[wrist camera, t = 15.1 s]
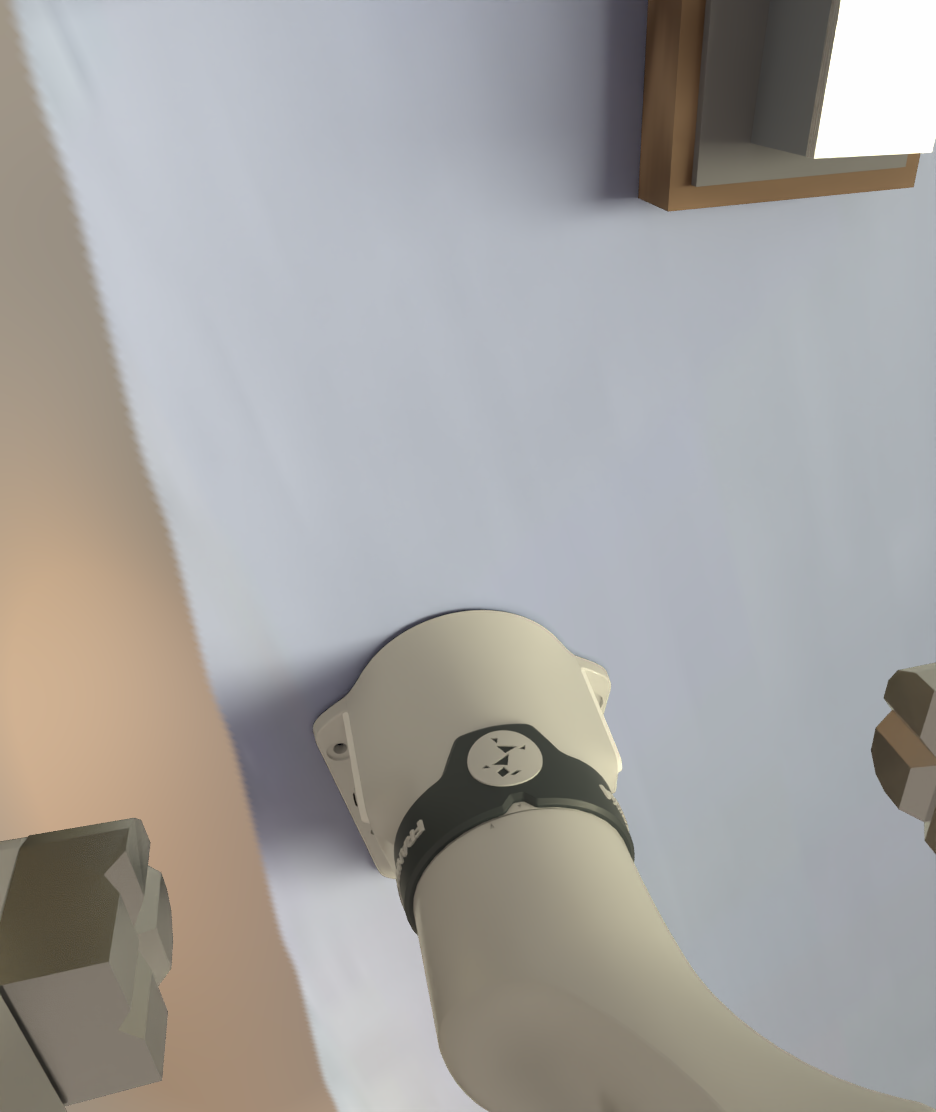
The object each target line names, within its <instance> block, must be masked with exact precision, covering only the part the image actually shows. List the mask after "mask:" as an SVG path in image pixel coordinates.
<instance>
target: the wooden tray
mask: <svg viewBox="0 0 936 1112" xmlns="http://www.w3.org/2000/svg"><path fill="white" fill-rule="evenodd" d="M769 5H770V0H648V14H647V34H646V54H645V74H644V95H643V115H642V135H641V155H640V175H639V195H638V198H640V199H642V200H644V201H646V202H648V203H651V204H653V205H655V206H657V207H659V208H662V209H664V210H666V211H677V210H688V209H698V208H708V207H718V206H728V205H738V204H748V203H758V202H768V201H778V200H789V199H799V198H809V197H819V196H829V195H839V194H849V193H859V192H869V191H880V190H890V189H900V188H910V187H914V183H915V178H916V173H917V168H918V163H919V158H920V153H909V154H890V155H871V156H853V157H834V158H815V159H814V158H810V157H806V156H802V155H797V154H793V153H789V152H785V151H781V150H777V149H773V148H769V147H765V146H761V145H757V144H753V143H751V136H752V129H753V122H754V114H755V107H756V100H757V93H758V85H759V78H760V71H761V63H762V56H763V49H764V41H765V34H766V27H767V20H768V12H769Z"/></svg>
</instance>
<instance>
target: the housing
mask: <svg viewBox="0 0 936 1112" xmlns="http://www.w3.org/2000/svg"><path fill="white" fill-rule="evenodd" d="M935 136H936V0H770V5H769V12H768V20H767V27H766V34H765V41H764V49H763V56H762V63H761V71H760V78H759V85H758V93H757V100H756V107H755V114H754V122H753V129H752V136H751V143H753V144H757V145H761V146H765V147H769V148H773V149H777V150H781V151H785V152H789V153H793V154H797V155H802V156H806V157H810V158H814V159H815V158H834V157H853V156H871V155H890V154H909V153H927V152H932V149H933V144H934V140H935Z"/></svg>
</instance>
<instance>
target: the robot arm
mask: <svg viewBox="0 0 936 1112" xmlns="http://www.w3.org/2000/svg"><path fill="white" fill-rule="evenodd" d="M610 689H611V682H610V679H609V677H608V674H607V672H606V670H605V669H604V668H603V667H602V666H600V665H598V664H596V663H594V662H592V661H589V660H586V659H584V658H581V657H578V656H575V655H573V654H572V653H571V652H569V651H568V650H567V649H566V648H565V647H564V646H563V645H562V643H561V642H560V641H559V640H558V639H557V638H556V637H555V636H554V635H553V634H552V633H551V632H549V631H548V630H547V629H546V628H544V627H542V626H541V625H539V624H538V623H536V622H534V621H532V620H530V619H527V618H525V617H522V616H519V615H515V614H512V613H507V612H501V611H492V610H473V611H463V612H457V613H451V614H447V615H443V616H440V617H437V618H433V619H431V620H428V621H426V622H423V623H421V624H419V625H416V626H414V627H413V628H411V629H409V630H407V631H405V632H404V633H402V634H400V635H399V636H397V637H396V638H395V639H393V640H392V641H391V642H389V643H388V644H387V645H386V646H384V647H383V648H382V649H381V650H380V651H379V652H378V653H377V654H376V655H375V656H374V657H373V658H372V660H371V661H370V662H369V663H368V665H367V666H366V667H365V669H364V670H363V672H362V673H361V675H360V677H359V678H358V680H357V681H356V683H355V685H354V686H353V688H352V689H351V690H350V692H349V693H348V694H347V695H346V696H345V697H344V698H342V699H341V700H340V701H338V702H337V703H335V704H334V705H333V706H331V707H330V708H329V709H327V710H326V711H325V712H324V713H323V714H322V715H320V716H319V717H318V719H317V720H316V721H315V723H314V725H313V733H314V736H315V740H316V744H317V746H318V748H319V750H320V752H321V754H322V756H323V758H324V760H325V762H326V764H327V766H328V768H329V770H330V772H331V775H332V777H333V779H334V781H335V783H336V785H337V787H338V789H339V791H340V793H341V795H342V797H343V799H344V801H345V803H346V805H347V807H348V810H349V812H350V814H351V816H352V818H353V820H354V822H355V824H356V826H357V828H358V830H359V832H360V834H361V836H362V838H363V840H364V842H365V845H366V847H367V849H368V851H369V853H370V855H371V857H372V859H373V861H374V863H375V865H376V867H377V869H378V871H379V872H380V874H381V875H383V876H384V877H388V878H392V879H396V882H397V887H398V892H399V897H400V900H401V903H402V905H403V908H404V910H405V913H406V916H407V920H408V922H409V924H410V925H411V927H412V929H413V931H414V932H415V933H416V934H417V935H418V938H419V943H420V949H421V954H422V959H423V965H424V970H425V976H426V981H427V986H428V991H429V997H430V1002H431V1007H432V1012H433V1018H434V1023H435V1028H436V1034H437V1039H438V1045H439V1049H440V1052H441V1055H442V1057H443V1060H444V1062H445V1064H446V1066H447V1068H448V1070H449V1072H450V1073H451V1075H452V1077H453V1078H454V1080H455V1082H456V1083H457V1084H458V1085H459V1087H460V1088H461V1089H462V1090H463V1091H464V1092H465V1094H466V1095H468V1096H469V1097H470V1098H471V1099H472V1100H473V1101H474V1102H475V1103H476V1104H478V1105H479V1106H481V1107H482V1108H484V1109H485V1110H487V1111H488V1112H936V1109H934V1108H931V1107H929V1106H927V1105H925V1104H922V1103H920V1102H917V1101H912V1100H907V1099H903V1098H899V1097H895V1096H892V1095H888V1094H884V1093H881V1092H877V1091H874V1090H870V1089H867V1088H864V1087H861V1086H858V1085H856V1084H853V1083H850V1082H848V1081H845V1080H842V1079H839V1078H837V1077H835V1076H833V1075H830V1074H828V1073H826V1072H824V1071H822V1070H820V1069H818V1068H816V1067H813V1066H811V1065H809V1064H807V1063H805V1062H803V1061H802V1060H800V1059H798V1058H797V1057H795V1056H793V1055H791V1054H790V1053H788V1052H786V1051H784V1050H783V1049H781V1048H779V1047H778V1046H776V1045H775V1044H773V1043H772V1042H770V1041H769V1040H767V1039H766V1038H764V1037H763V1036H761V1035H760V1034H758V1033H757V1032H756V1031H754V1030H753V1029H752V1028H751V1027H749V1026H748V1025H747V1024H746V1023H744V1022H743V1021H742V1020H741V1019H739V1018H738V1017H737V1016H736V1015H735V1014H734V1013H732V1012H731V1011H730V1010H729V1009H728V1008H727V1007H726V1006H725V1005H724V1004H723V1003H722V1002H721V1001H720V1000H719V999H718V998H717V997H716V996H715V995H714V994H713V993H712V992H711V991H710V990H709V989H708V988H707V986H706V985H705V984H704V983H703V982H702V980H701V979H700V978H699V977H698V975H697V974H696V973H695V971H694V970H693V968H692V967H691V965H690V964H689V962H688V961H687V959H686V958H685V956H684V955H683V953H682V951H681V950H680V948H679V946H678V945H677V943H676V941H675V940H674V938H673V936H672V935H671V933H670V931H669V930H668V928H667V926H666V924H665V922H664V921H663V919H662V917H661V915H660V913H659V911H658V910H657V908H656V906H655V904H654V902H653V900H652V898H651V896H650V894H649V892H648V890H647V888H646V887H645V885H644V883H643V881H642V879H641V877H640V875H639V872H638V870H637V868H636V866H635V864H634V846H633V842H632V839H631V836H630V833H629V829H628V824H627V821H626V819H625V816H624V814H623V812H622V809H621V807H620V805H619V803H618V801H617V800H616V798H614V796H613V795H612V794H613V793H615V791H616V786H617V784H616V782H617V776H618V773H619V772H620V771H621V770H622V762H621V758H620V755H619V752H618V750H617V747H616V745H615V742H614V740H613V738H612V735H611V733H610V730H609V728H608V725H607V723H606V721H605V718H604V716H603V714H604V711H605V707H606V704H607V700H608V697H609V693H610ZM884 699H885V701H886V702H887V704H888V705H889V707H890V708H891V710H892V711H891V712H890V713H889V714H888V715H887V716H886V717H885V718H884V719H883V720H882V722H881V723H880V724H879V725H878V726H877V727H876V729H875V734H874V738H873V743H872V748H871V753H872V758H873V763H874V768H875V773H876V775H877V777H878V779H879V781H880V783H881V785H882V787H883V789H884V791H885V793H886V794H887V795H888V796H889V798H890V799H891V800H892V801H893V803H894V804H895V805H896V806H897V808H898V809H899V810H901V811H903V812H905V813H907V814H909V815H911V816H913V817H915V818H917V819H919V820H921V821H923V822H924V837H925V842H926V843H927V844H928V845H929V847H930V848H931V849H932V850H933V851H934V853H935V854H936V662H935V663H930V664H925V665H921V666H916V667H911V668H906V669H901V670H898V671H897V672H896V673H895V674H894V675H893V676H892V677H891V678H890V679H889V680H888V684H887V688H886V691H885V695H884ZM339 743H344V744H343V745H340V746H337V745H336V744H339ZM149 849H150V841H149V838H148V836H147V833H146V831H145V828H144V826H143V824H142V821H141V820H139V819H136V818H130V819H125V820H119V821H113V822H107V823H101V824H95V825H89V826H83V827H77V828H72V829H65V830H60V831H53V832H47V833H42V834H36V835H30V836H28V837H25V838H18V839H12V840H6V841H0V1112H67V1111H66V1108H65V1107H64V1106H68V1105H72V1104H75V1103H79V1102H83V1101H87V1100H91V1099H94V1098H98V1097H102V1096H106V1095H109V1094H113V1093H117V1092H121V1091H124V1090H128V1089H132V1088H136V1087H139V1086H143V1085H147V1084H151V1083H154V1082H158V1081H162V1074H163V1062H164V1051H165V1039H166V1026H167V1015H168V1011H167V1008H166V1006H165V1003H164V1001H163V998H162V996H161V993H160V990H159V988H158V986H159V985H160V983H161V982H162V980H163V979H164V978H165V976H166V975H167V974H168V972H169V971H170V969H171V963H172V949H173V933H172V916H171V907H170V903H169V897H168V893H167V888H166V885H165V883H164V879H163V877H162V874H161V872H159V871H157V870H155V869H154V868H152V867H150V866H148V859H149Z"/></svg>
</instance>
